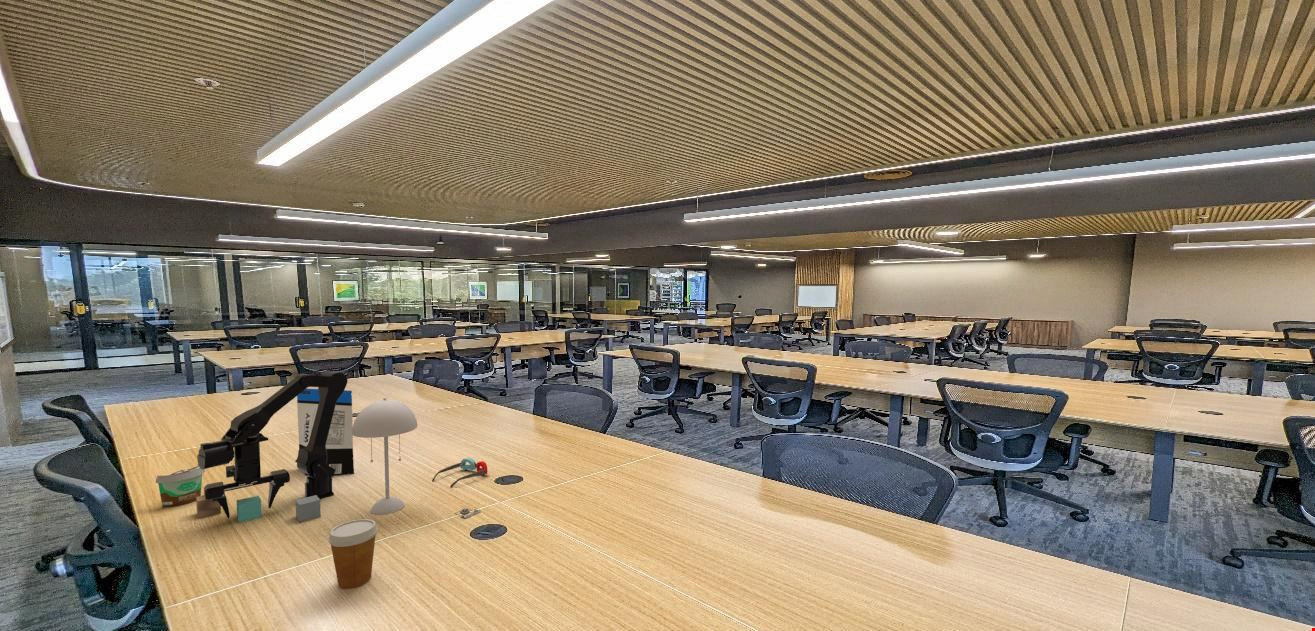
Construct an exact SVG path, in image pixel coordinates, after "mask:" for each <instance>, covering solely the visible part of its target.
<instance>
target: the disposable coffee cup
mask: <svg viewBox="0 0 1315 631" xmlns="http://www.w3.org/2000/svg"><path fill="white" fill-rule="evenodd" d="M378 530H379V527H378V525H377V523H376V521H375V520H373V519H370V518H369V519H367V518H363V519H354V520H349V521H345V522H343V523H340V524H338V525H336V526H335V527H333V528H332V529H331V530H330V532H329V535H328V537H327V541H328V542H329V545H330V548H331V554H332V558H333V563H334V564H333V565H334V570H335V573H336V574H335V575H336V580H337V585H338V588H341V589H352V588H353V589H354V588H358V587H360V586H362V585H364V584H366V583H367V582H369V581H370V580H371V578H372V572H373V561H374V555H375V553H374V551H375V544H376V536H377V533H378Z"/></svg>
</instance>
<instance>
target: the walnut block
mask: <svg viewBox="0 0 1315 631" xmlns="http://www.w3.org/2000/svg"><path fill="white" fill-rule="evenodd" d="M195 502H196V503H195V504H196V515H197V516H196V517H197V519H203V518H207V517H210V516H215V515H218V514H220V515H221V514H222V506H221V505H220V504H219V503H218V501H212V499H205V495H204V494H203V495H202V494H201V496H198V497H196V501H195Z"/></svg>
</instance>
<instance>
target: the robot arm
mask: <svg viewBox="0 0 1315 631" xmlns="http://www.w3.org/2000/svg"><path fill="white" fill-rule="evenodd" d="M348 381H349V380H348V377H347V376H346V374H344V373H342V372H337V371H330V370H329V371H324V373H322V374H321V373H319V374H318V373H316V374H315V373H310V374H308V373H299V374H297V375H296V376H294V378H293V379H291V381H289V382H288V383H287V384H285V385H284V386H282V387H281V388H280V389H279V390H277V391H276V392H275V393H274V394H272V395H271V396H270V397H268V398H267V399H265V401H263V402H262V403H261V404H258V405H256V406H255V407H252V408H250V409H248V410H245V411H244V412H242V413H241V414H238V415H237V416H235V417H234V418H233V419H232V420H231V421H230V426H229V428H228V430H227V431H226V432H225V433H224V434H223V436H222V437H221V439H220V440H218V441H212V442H203V443H200V444H199V445H200V448H199V449H198V454H197V456H196V457H197V465H198V464H199V467H200V469H205V470H206V469H210V468H214V467H215V468H216V467H219V466H220V467H221V466H223V465H228V466H225V477H226V479H228V478H229V479H230V478H233V481H234V482H231V483H227V484H224V482H223V481H217V482H212V483H207V484H206V485H205V486H203V495H205V499H212V501H218V503H219V504H220V505H221V509H222V510H223V512H224V514H225V516H226V519H230V516H231V515H230V508H229V505H228V499H227V496H226V493H225V492H229V491H230V492H231V491H233V490H239V489H243V488H248V487H253V486H258V485H262V484H266V483H269V484H268V485H269V486H268V488H269V489H268V496H267V497H268V498H267V507H268V509H271V508H272V505H273V503H274V500H275V498H276V496H277V494H278V492H279V491H280V489H281V487H284V486H285V484H288V483H290V482H291V476H290V473H289V471H288V470H286V469H285V468H282V469H277V470H273V471H270V475H265V476H261V474H262V473H261V469H262V468H261V449H260V448H261V445H260V444H261V443H263V442H266V441H269V438H268V437H267V436H265V435H264V434H263V433H262V430H263V429H264V428H265V427H267V425H268V423H269V421H270V420H271V418H272V417H273V416H274V415H275V414H277V412H279V411H280V410H281V409H282V408H283V407H285V406H286V405H287V404H289V403H290V402H291V401H293V400H295V399H296V398H297V395H299V394H300V393H301V392H302V391H304V390H305V389H309V388H310V387H311V388H317V389H318V391H319V396H320V401H319V404H318V408H317V412H316V416H315V420H314V424H313V428H312V431H311V435H310V439H309V443H308V445H307V446H306V447H305V449H304V450H303V449H299V448H298V451H297V457H296V459H295V461H294V462H295V463H296V468H297V469H298V470H299V471H300V472H301V473H302V474H304V476H306V482H305V483H304V495H305V498H306V497H310V496H314V495H317V497H318V498H319V499H322V498H327V497H331V496H334V495H335V493H334V492H333V477H335V476H334V473H335V469H333V468H332V467H330V466H329V465H327V451H326V442H327V438H328V434H329V430H330V426H331V422H332V418H333V414H334V410H335V406H336V402H337V400H338V399H339V397H340V396H341V395H342V394H343V392H344V390H345V389H346V387H347V385H348ZM233 460H234V462H233V463H234V464H233V465H229V464H230V462H232V461H233Z"/></svg>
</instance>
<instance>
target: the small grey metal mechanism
mask: <svg viewBox="0 0 1315 631" xmlns="http://www.w3.org/2000/svg"><path fill="white" fill-rule="evenodd" d="M470 512H471V513H470ZM481 512H482V511H481V509H477V508H476V509H470V508H466V507H463V508H462V509H461V510H458V511H457V512H455V513H454V515H455V516H456V515H457V516H460V518H461V519H463V520H467V519H468V518H469V519H470V518H472V517H473V516H476V515H477V514H480V513H481ZM458 513H460V514H462V515H460V514H458ZM468 513H469V514H468ZM466 514H467V515H466Z"/></svg>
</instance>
